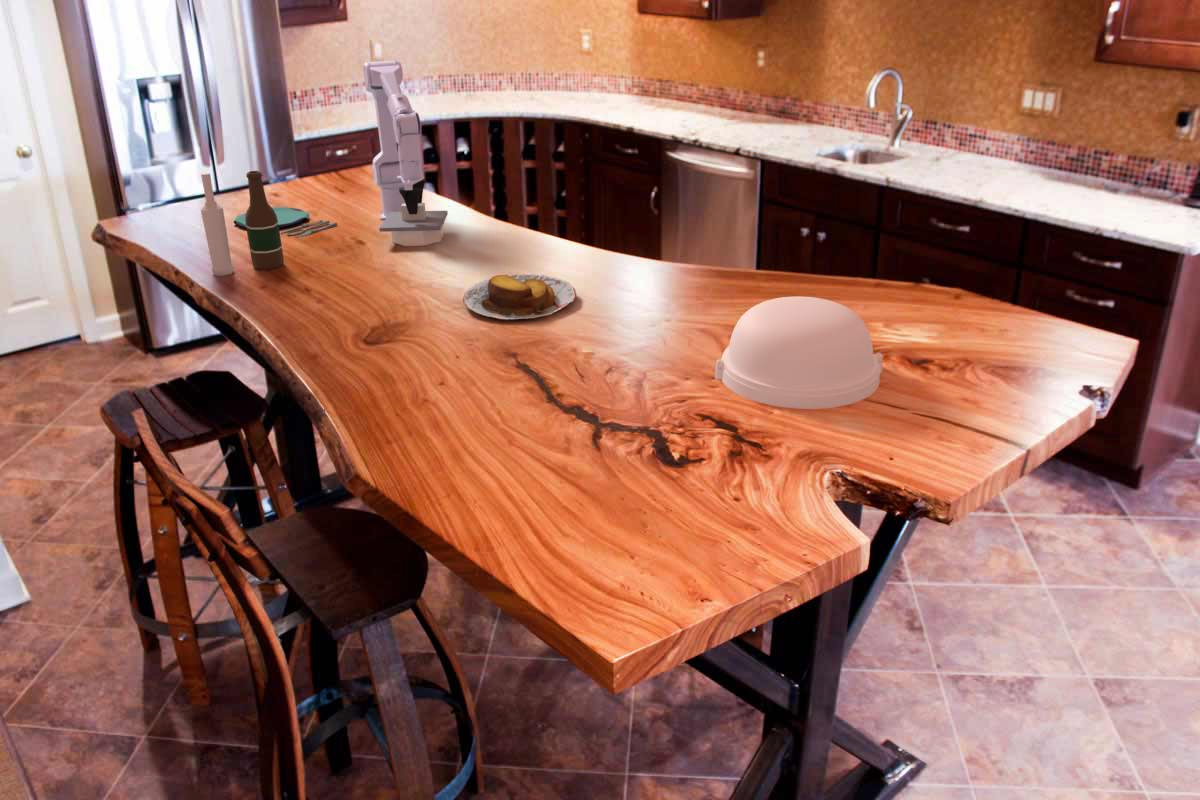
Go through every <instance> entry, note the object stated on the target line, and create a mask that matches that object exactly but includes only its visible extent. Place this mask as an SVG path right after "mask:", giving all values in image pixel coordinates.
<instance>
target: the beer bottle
mask: <svg viewBox="0 0 1200 800" xmlns="http://www.w3.org/2000/svg"><path fill="white" fill-rule="evenodd" d="M245 176H246V178H247V183H248V194H249V206H248V208H247V210H246V213H245V214H246V217H245V221H246V227H245V228H246V235H247V241H248V246H249V252H250V258H251V263H252V266H253V268H255V269H256V270H259V271H266V270H267V271H271V270H275V269H278V268H281V267H282V266H283V265H284V264H285V262H284V261H285V258H284V253H283V252H284V251H283V246H282V238H281V231H280V227H279V225H278V220H277V216H276V213H275V212H274V210H273V208H272V206H271V205H270V204H269V202H268V199H267V196H266V194H265V193H266V192H265V188H264V183H263V182H264V181H263V180H262V179H263V178H262V177H263V173H262V172H261V171H259V170H252V171H251V170H250V171H248V172H247V173H246V175H245Z"/></svg>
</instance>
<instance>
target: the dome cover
mask: <svg viewBox="0 0 1200 800" xmlns="http://www.w3.org/2000/svg"><path fill="white" fill-rule="evenodd" d="M715 364H716V365H715V373H714V374H715V376H714V379H715V380H721V381H722V383H723V384H724V386H725V387H727V388H728V389H729V390H731V392H734V393H735V394H736V395H738V396H741V397H743V398H746V399H747V400H750V401H753V402H756V403H760V404H763V405H769V406H771V407H772V406H774V407H779V408H787V409H798V410H819V409H832V408H833V409H834V408H838V407H843V406H848V405H851V404H855V403H858V402H861V401H863V400H864V399H867V398H868V397H869V396H872V395H873V394H874V393H875V392H876V391H877V389H878V388H879V385H880V380H881V379H880V376H881V375H880V374H882V373H883V354H882V353H881V352H876V353H874V349H873V342H872V338H871V333H870V332H869V329H868V327H867V325H866V323H865V322H864V321H863V319H862V318H861V317H860V315H858V314H857V313H856V312H855V311H854V310H853V309H850V308H849V307H847V306H845V305H844V304H840V303H838V302H836V301H833V300H830V299H827V298H826V299H824V298H821V297H815V296H813V297H812V296H796V295H795V296H782V297H778V298H777V297H776V298H772V299H768V300H765V301H762V302H760V303H757V304H756V305H753V306H752V307H751V308H749V309H748V310H747V311H746V312H744V313H743V314H742V315H741V317H740V318H739V319H738V321H737V323H736V324H735V326H734V327H733V330H732V333H731V337H730V340H729V345H728V346H727V347H726V348H725V350H724V351H723V353H722V356H721V358H719V359H717V360H716V362H715Z"/></svg>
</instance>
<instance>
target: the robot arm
mask: <svg viewBox="0 0 1200 800" xmlns="http://www.w3.org/2000/svg"><path fill="white" fill-rule="evenodd" d="M362 67H363V68H362V72H363V79H364V86H365V89H366V92H368V93H371V94H372V96H373V99H374V104H375V105H374V106H375V114H376V122H377V129H378V137H379V146H380V152H379V153H378V154H376V155H375V156H374V158H372V177H373V181H374V183H375V185H376V186H377V187H380V188H379V189H380V197H381V205H382V206H381V207H382V213H381V215H380V218H379V219H380V220H385V219H386V217H387V215H388V214H389V212H402V211H401V205H402V204H406V207H407V210H408V213H409V214H417V211H418V203H423V193H424V188H425V185H426V182H427V179H426V178H424V174H423V164H422V153H421V141H420V135H421V134H422V122H421V119H420V115H419V112H418V111H416V110H413V107H412V105H411V103H410V101H409V98H408V96H407V95H406V94H403V93H402V90H401V84H402V82H403V79H404V76H403V75H404V73H403V67H402V64H401V62H400V61H399V60H398V59H394V60H385V61H384V60H383V61H373V62H372V61H371V62H368V61H365V63H364V64H363V66H362Z"/></svg>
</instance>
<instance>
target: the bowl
mask: <svg viewBox="0 0 1200 800" xmlns="http://www.w3.org/2000/svg"><path fill="white" fill-rule="evenodd" d="M443 230H444V229H443V227H442V228H441V230H431V231H390V232H391V239H392V243H394V244H398V245H401V246H403V247H416V246H417V247H418V246H419V247H420V246H423V247H424V246H428V245H431V244H435V243H439V242H441V241H442V239H443V236H444V231H443Z"/></svg>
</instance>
